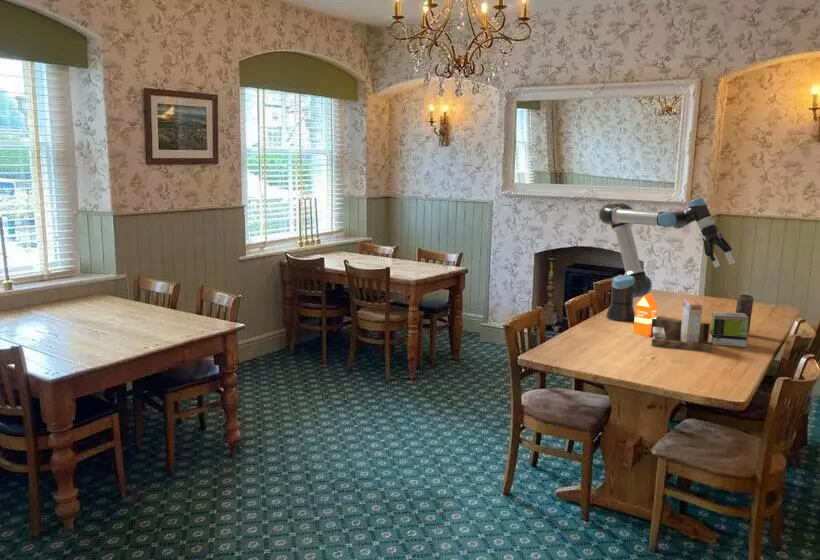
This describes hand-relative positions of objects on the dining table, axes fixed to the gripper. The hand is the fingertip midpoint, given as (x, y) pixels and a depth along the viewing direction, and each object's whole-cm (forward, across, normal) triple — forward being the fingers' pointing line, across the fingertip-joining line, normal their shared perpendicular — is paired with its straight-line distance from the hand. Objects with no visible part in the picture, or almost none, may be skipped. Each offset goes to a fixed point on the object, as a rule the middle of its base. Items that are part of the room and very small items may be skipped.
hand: (725, 265), depth 336 cm
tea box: (+37, -15, +7) cm, 40 cm away
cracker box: (+32, -33, +14) cm, 48 cm away
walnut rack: (+30, -36, +17) cm, 49 cm away
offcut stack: (+26, -41, +24) cm, 54 cm away
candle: (+34, +8, +12) cm, 37 cm away
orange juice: (+19, -33, +36) cm, 52 cm away
